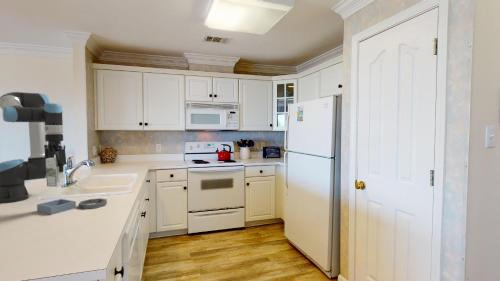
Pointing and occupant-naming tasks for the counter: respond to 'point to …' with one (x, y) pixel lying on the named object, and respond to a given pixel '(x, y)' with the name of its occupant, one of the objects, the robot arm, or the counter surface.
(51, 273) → the counter surface
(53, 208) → the tray
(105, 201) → the collar
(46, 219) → the counter surface
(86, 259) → the counter surface
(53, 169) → the syrup box
